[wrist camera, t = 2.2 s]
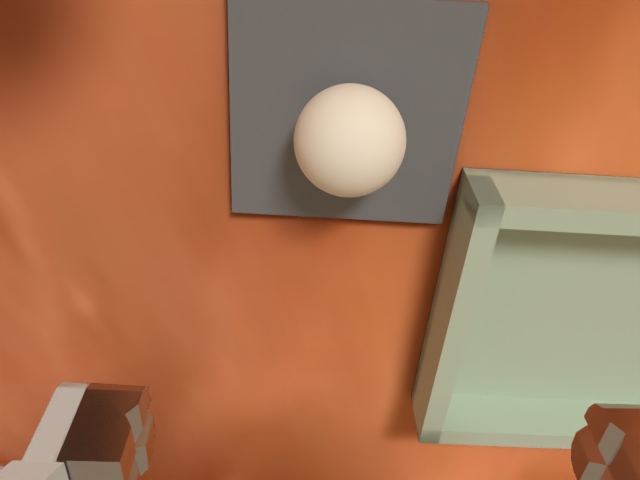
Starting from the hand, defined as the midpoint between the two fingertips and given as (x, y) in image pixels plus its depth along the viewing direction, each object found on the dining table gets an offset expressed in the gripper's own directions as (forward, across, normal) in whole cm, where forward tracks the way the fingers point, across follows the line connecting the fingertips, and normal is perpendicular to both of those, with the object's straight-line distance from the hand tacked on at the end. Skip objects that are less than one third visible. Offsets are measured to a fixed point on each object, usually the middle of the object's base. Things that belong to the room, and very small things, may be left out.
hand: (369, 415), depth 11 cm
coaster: (+14, 0, 0) cm, 15 cm away
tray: (+14, -13, +9) cm, 22 cm away
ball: (+14, 0, 0) cm, 14 cm away
